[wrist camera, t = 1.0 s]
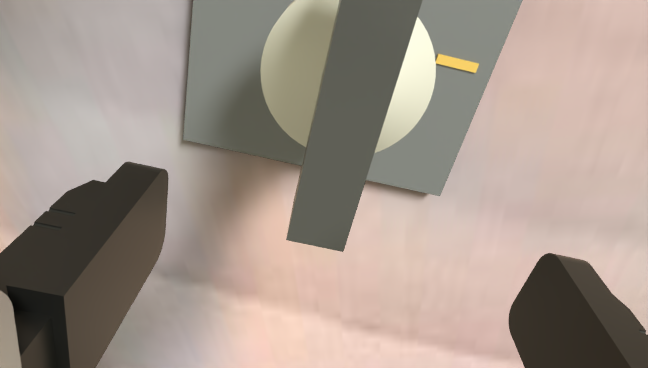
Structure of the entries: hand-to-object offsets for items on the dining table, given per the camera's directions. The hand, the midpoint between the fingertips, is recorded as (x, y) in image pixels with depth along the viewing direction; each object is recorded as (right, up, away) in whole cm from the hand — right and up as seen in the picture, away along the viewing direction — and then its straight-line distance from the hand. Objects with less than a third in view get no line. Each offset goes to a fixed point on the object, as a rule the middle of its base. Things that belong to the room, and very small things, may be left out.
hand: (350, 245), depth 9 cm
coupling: (+1, +8, +13) cm, 15 cm away
